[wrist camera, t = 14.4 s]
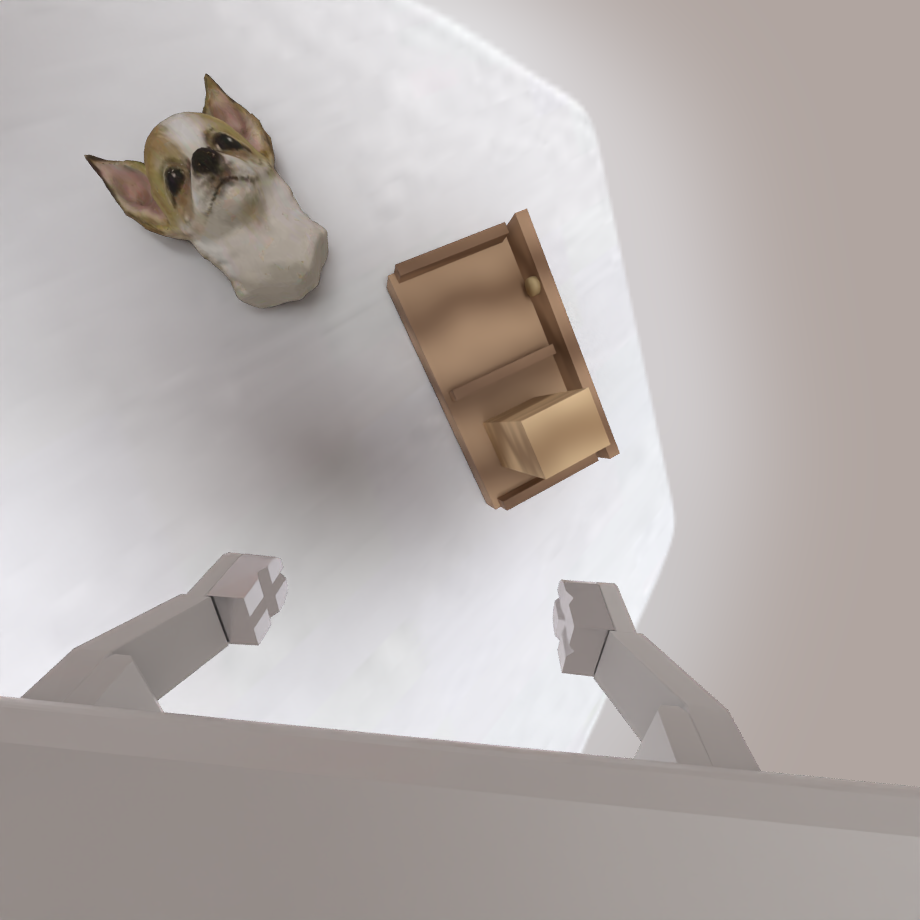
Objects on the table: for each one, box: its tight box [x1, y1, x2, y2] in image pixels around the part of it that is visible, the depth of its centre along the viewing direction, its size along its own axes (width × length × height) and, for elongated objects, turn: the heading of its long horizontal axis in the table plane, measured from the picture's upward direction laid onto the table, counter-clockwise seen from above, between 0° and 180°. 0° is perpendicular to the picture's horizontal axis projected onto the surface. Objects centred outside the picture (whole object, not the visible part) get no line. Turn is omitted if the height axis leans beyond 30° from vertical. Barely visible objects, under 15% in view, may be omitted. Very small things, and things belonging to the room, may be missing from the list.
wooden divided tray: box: [387, 209, 620, 510], centre depth 31 cm, size 20×11×5 cm, turn 25°
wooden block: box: [483, 387, 610, 479], centre depth 27 cm, size 4×5×8 cm
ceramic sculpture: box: [84, 74, 328, 308], centre depth 24 cm, size 11×9×15 cm
